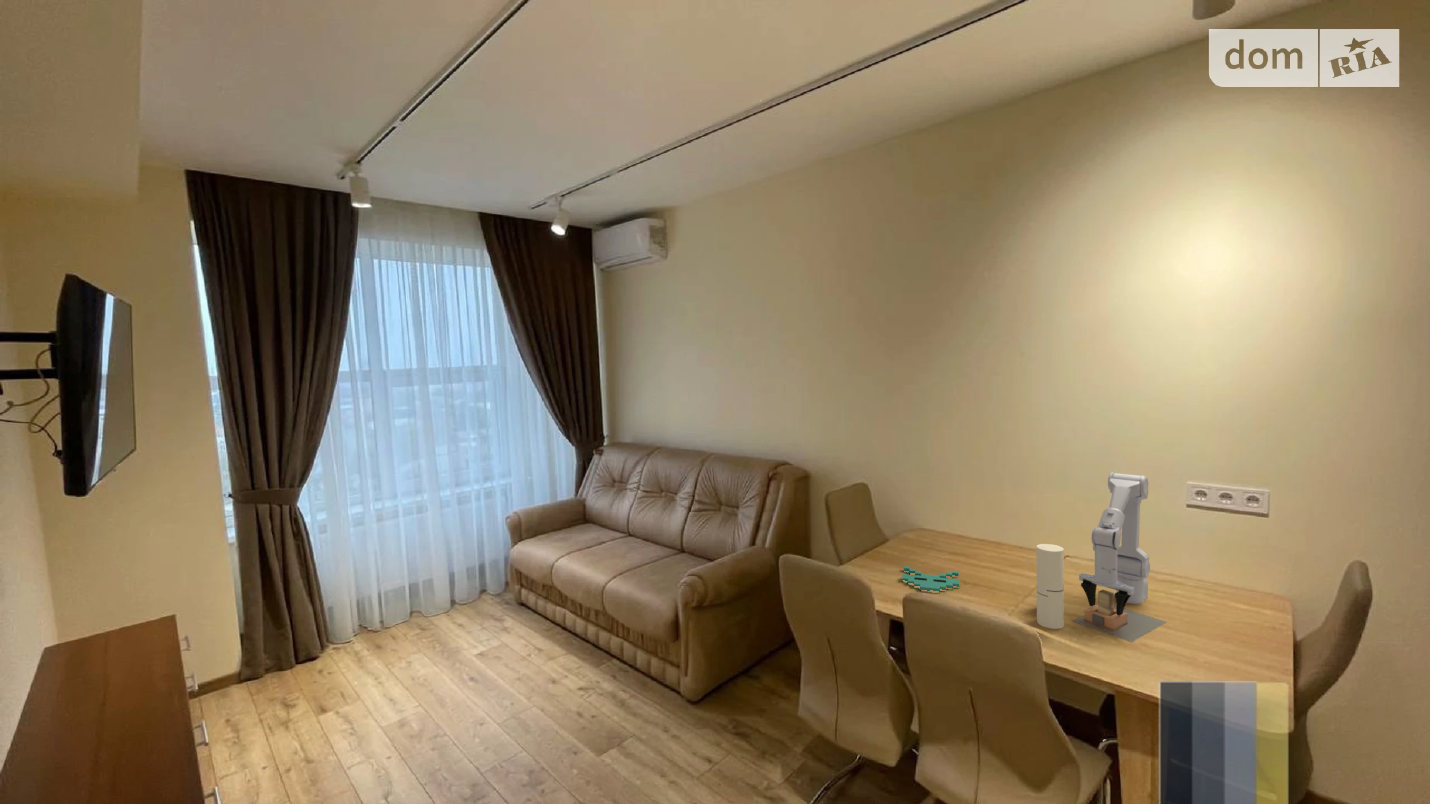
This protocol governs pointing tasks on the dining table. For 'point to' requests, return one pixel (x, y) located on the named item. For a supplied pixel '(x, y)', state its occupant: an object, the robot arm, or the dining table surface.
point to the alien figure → (930, 580)
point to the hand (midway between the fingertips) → (1105, 609)
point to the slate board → (1129, 625)
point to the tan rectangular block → (1106, 602)
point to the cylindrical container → (1050, 586)
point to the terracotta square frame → (1105, 618)
